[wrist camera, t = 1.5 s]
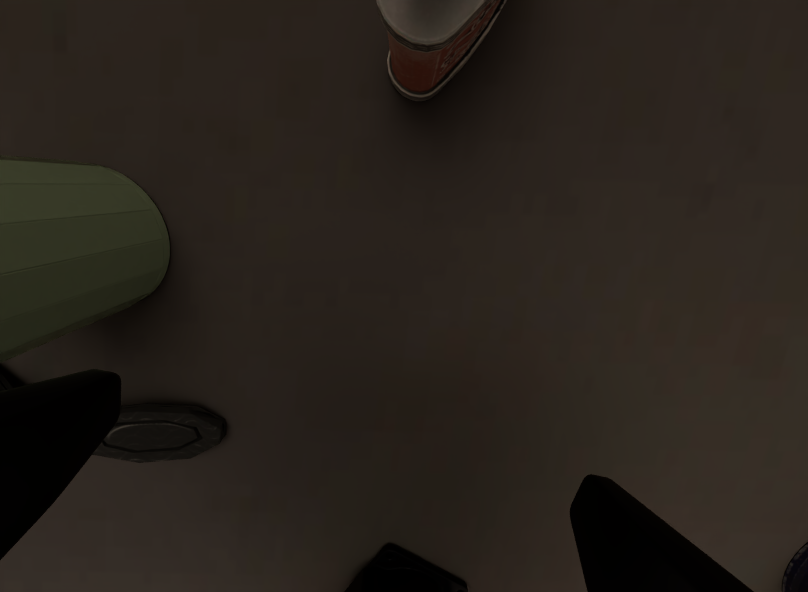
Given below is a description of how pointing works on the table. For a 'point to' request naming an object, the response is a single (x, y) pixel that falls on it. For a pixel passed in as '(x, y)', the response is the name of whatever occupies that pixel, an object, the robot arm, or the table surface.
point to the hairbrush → (158, 432)
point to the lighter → (433, 40)
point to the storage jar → (797, 573)
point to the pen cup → (72, 248)
